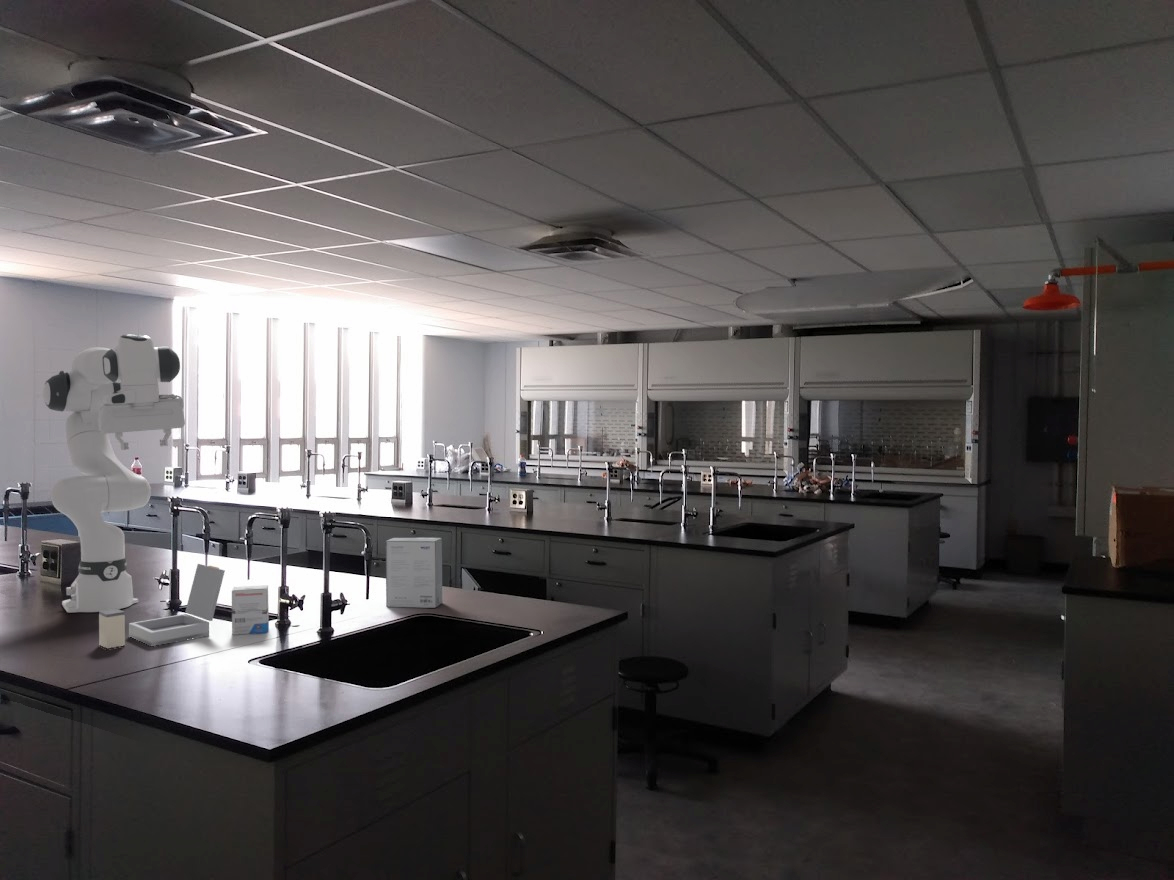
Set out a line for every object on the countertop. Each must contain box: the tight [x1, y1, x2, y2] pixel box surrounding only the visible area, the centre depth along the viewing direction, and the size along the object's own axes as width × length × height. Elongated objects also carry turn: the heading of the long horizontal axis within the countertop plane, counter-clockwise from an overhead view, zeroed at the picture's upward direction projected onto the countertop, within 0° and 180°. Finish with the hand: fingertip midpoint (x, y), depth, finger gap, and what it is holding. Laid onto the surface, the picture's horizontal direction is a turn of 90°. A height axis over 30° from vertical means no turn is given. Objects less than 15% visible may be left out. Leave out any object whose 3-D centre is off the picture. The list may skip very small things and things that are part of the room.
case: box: [128, 613, 210, 647], centre depth 209 cm, size 14×14×4 cm
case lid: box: [184, 563, 226, 622], centre depth 216 cm, size 14×13×2 cm
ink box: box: [231, 584, 270, 636], centre depth 214 cm, size 9×5×12 cm, turn 106°
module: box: [98, 609, 126, 648], centre depth 200 cm, size 5×4×8 cm
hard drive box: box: [385, 537, 443, 609], centre depth 247 cm, size 16×8×20 cm, turn 84°
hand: (144, 447), depth 219 cm, fingers open, 8 cm apart
